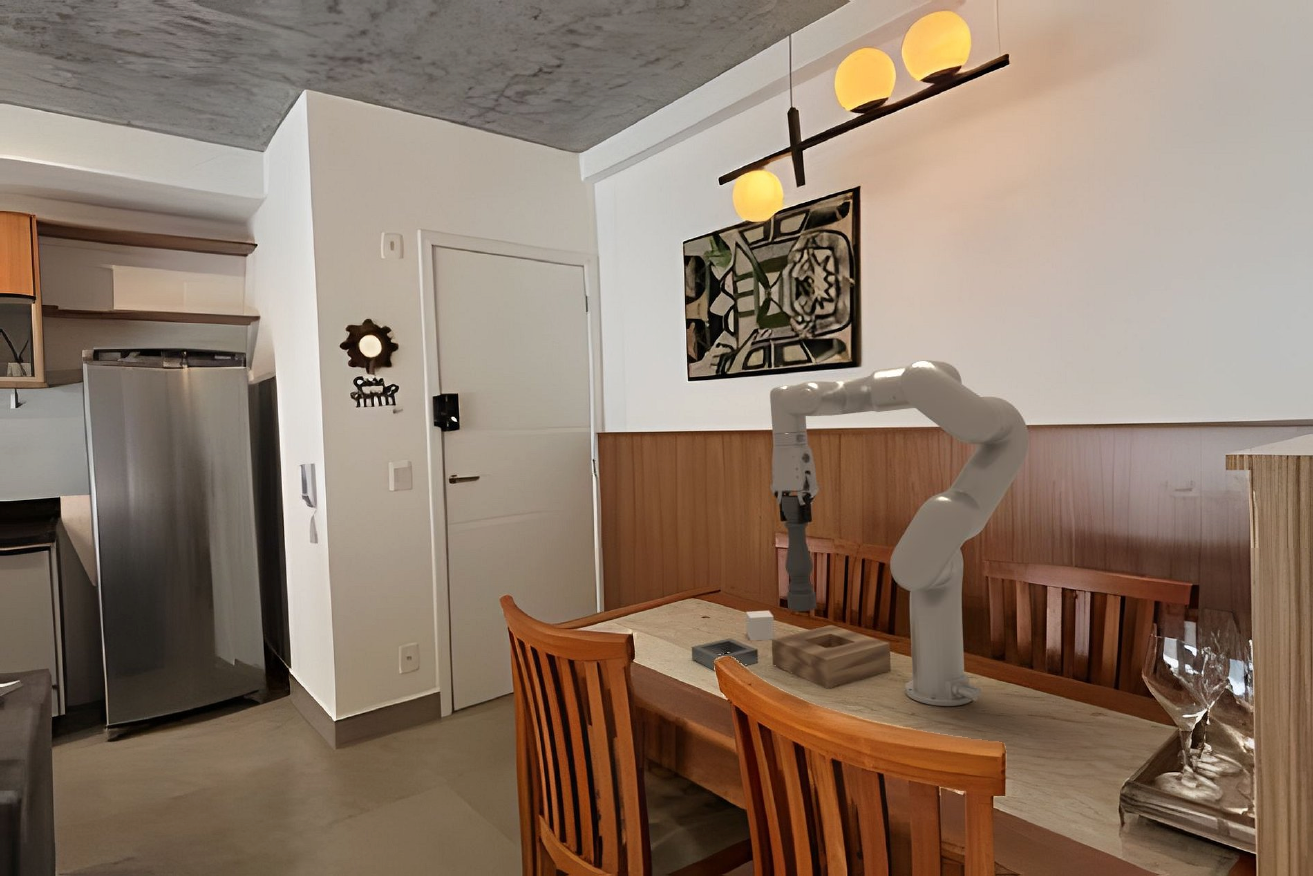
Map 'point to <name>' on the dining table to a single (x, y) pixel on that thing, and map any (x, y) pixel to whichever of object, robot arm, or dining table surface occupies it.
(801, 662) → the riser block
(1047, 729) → the dining table surface
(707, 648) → the metal collar
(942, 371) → the robot arm
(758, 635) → the white cube
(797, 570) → the candle holder
